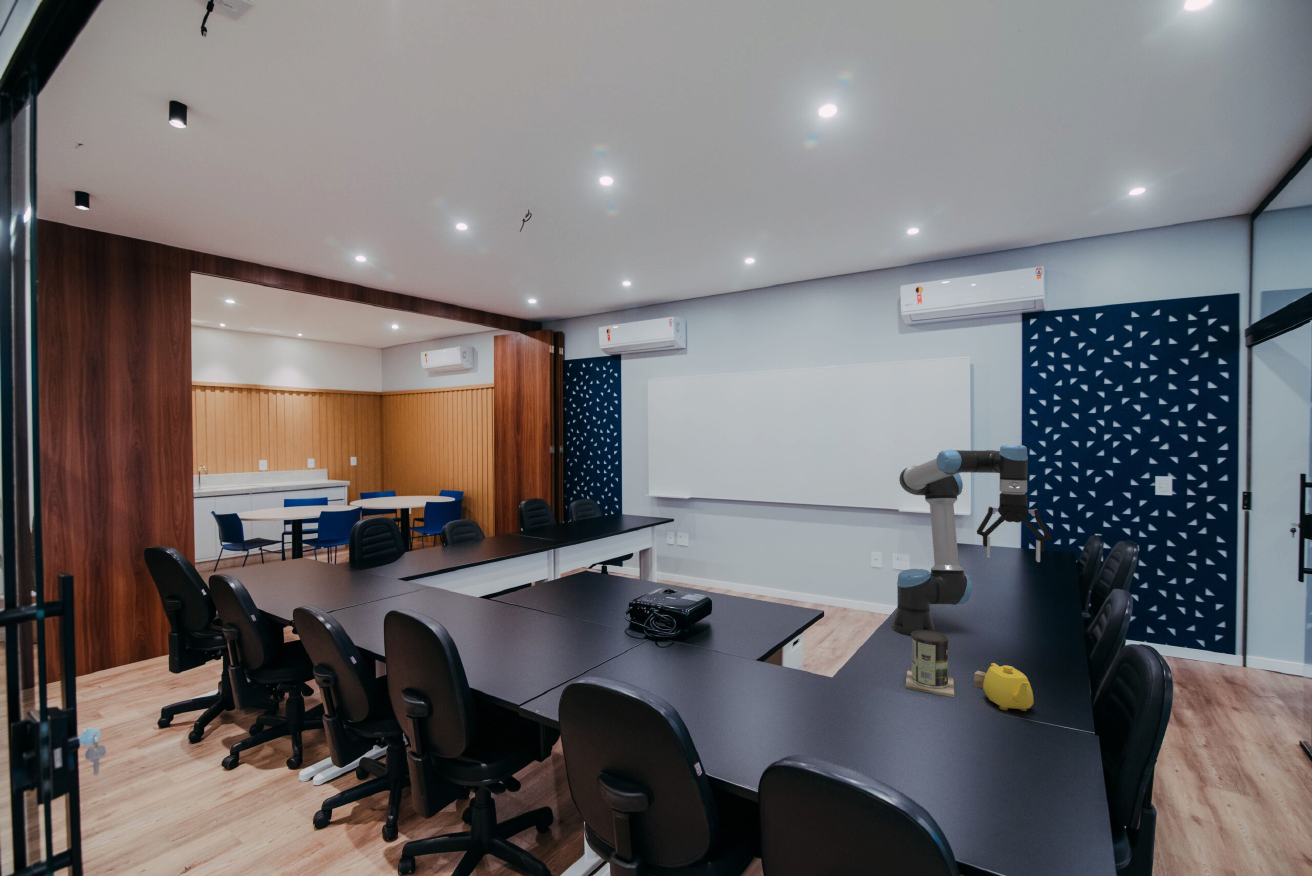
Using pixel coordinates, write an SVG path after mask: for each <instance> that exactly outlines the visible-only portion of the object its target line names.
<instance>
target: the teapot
mask: <svg viewBox="0 0 1312 876" xmlns="http://www.w3.org/2000/svg"><path fill="white" fill-rule="evenodd" d="M1002 666H1003V667H1002ZM1013 667H1014V666H1013ZM1013 667H1011V666H1010V665H1007V664H1006V665H1005V664H1004V665H1001V666H999V665H998V664H997V663H994V662H992V663H990V666H989V667H988V669H987V671H986V672H985V673H986V675H985V678H984V683H983V691H984V694H985V695H986V697H987V698H988V700H989V701H991V702H992V703H995V704H996V705H998V709H1000V711H1001V710H1002V711H1008V710H1009V709H1017V710H1019V711H1023V712H1027V711H1028V709H1030V708H1032V706H1033V705H1034V694H1033V693H1034V692H1033V689H1032V686H1031V683H1030V681H1029V678H1028V677H1027V676H1026V675H1025V674H1024V673H1023V672H1021V671H1020V670H1018V669H1016V668H1015V667H1014V668H1015V669H1014V668H1013Z"/></svg>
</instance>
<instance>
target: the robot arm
mask: <svg viewBox="0 0 1312 876" xmlns="http://www.w3.org/2000/svg"><path fill="white" fill-rule="evenodd" d="M1028 459H1029V457H1028V448H1027V446H1025V445H1023V444H1022V445H1021V444H1019V445H1015V444H1011V445H1009V444H1002V445H1001V446H1000V448H999V450H995V449H994V450H993V449H989V450H988V449H987V450H961V449H960V450H956V449H955V450H954V449H948V450H946V449H945V450H941V451H939V453H938V454H937V455H936V457H935V458H934V459H931V460H929V461H927V462H924V463H922V464H920V465H910V466H908V467H906V468H904V469H903V470H902V471H901V472H900V474H899V478H898V479H899V480H898V481H899V484H900V486H901V488H902V489H903V490H904V491H906V492H907V493H909V494H911V495H913V496H924V499H925V501H926V502H927V504H929V510H930V522H931V523H930V524H931V537H932V547H933V549H932V550H933V561H934V562H933V563H934V565H933V566H932V567H931V568H930V571H929V570H928V569H922V568H920V569H918V568H910V569H908V568H907V569H905V570H901V571H900V572H899V573H898V575H897V582H896V585H897V588H896V589H897V602H896V603H897V606H896V607H897V609H896V612H895V614H894V618H893V620H892V629H893V630H894V631H895V632H896V633H899V634H902V635H906V636H911V633H912V632H913V631H918V630H926V631H933V632H936V631H935V630H936V629H935V624H934V620H933V617H932V616H931V609H930V608H931V605H952V606H956V605H964V604H966V603H967V602H969V600H970V598H971V596H972V593H973V585H972V584H973V583H972V580H971V578H970V576H969V575H968V574H966V573H965V572H964V571H965V570H964V568H963V567H962V566H960V564H959V563H960V562H959V552H958V541H957V540H958V539H957V531H956V529H957V528H956V519H955V510H954V509H955V507H954V505H955V503H956V502H957V501H958V496H960V495H961V494H962V492H963V490H962V489H964V488H963V487H964V484H963V479H962V476H961V475H960V474H963V473H964V474H965V473H971V474H972V473H979V474H982V473H984V474H988V473H991V474H999V491H1000V492H1001V493H999V505H998V507H992V506H988V509H987V513H986V514H985V516H984V518H983V520H982V521H981V523H980V525H979V526H978V528H977V529H976V534H977V535H979V536H981V537H982V546H983V547H984V548H985V547H986V558H987V559H989V558H990V559H991V537H990V536H989V535H990V534H992V533H993V532H994V531H995V530H996V529H997V528H998V527H999V526H1000V525H1001V524H1002V523H1003V522H1004V521H1005V522H1008V523H1013V522H1014V523H1017V524H1019V523H1021V522H1022V523H1023V524H1024V525H1025V526H1026V527H1027V528H1028V529H1029V530H1030V531H1031V532H1032V533H1033V534H1034V536H1036V537H1037V538H1038V539H1035V561H1036V562H1037V563H1040V562H1041V552H1044V551H1045V543H1046V541H1050V540H1052V536H1051V533H1050V532H1049V531H1048V529H1047V527H1046V525H1045V523H1044V522H1043V520H1042V518H1041V517H1040V510H1039V509H1038V508H1034V509H1028V495H1027V494H1026V493H1028ZM996 513H998V514H999V517H998V518H997V520H996V521H994V522H993V523H992V524H991V525H990V526H989V527H988V528H987V529H986V530H985V528H986V526H987V524H988V523H989V521H990V520H991V518H992V516H993V515H994V514H996ZM1029 514H1030V515H1031V516H1032V517H1034V519H1035V521H1036V523H1037V524H1038V526H1039V528H1040V530H1041V531H1042V534H1044V535H1041V533H1040V532H1039V531H1038V530H1037V529H1036V528H1035V527H1034V526H1033V525H1032V524H1031V523H1030V521H1028V519H1026V518H1027V516H1028V515H1029ZM984 530H985V531H984ZM911 637H912V636H911Z"/></svg>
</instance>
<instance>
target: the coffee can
mask: <svg viewBox="0 0 1312 876" xmlns="http://www.w3.org/2000/svg"><path fill="white" fill-rule="evenodd" d="M911 667H912V669H911V671H912V677H911V679H912V681H913V682H915V683H916V684H918V685H921V686H924V687H928V688H934V689H941V688H946V687H947V686H948V677H949V637H948V636H947V635H945V634H944V633H940V632H937V631H935V632H933V631H926V630H918V631H913V632H912V633H911Z"/></svg>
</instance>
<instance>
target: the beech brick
mask: <svg viewBox="0 0 1312 876" xmlns="http://www.w3.org/2000/svg"><path fill="white" fill-rule="evenodd" d="M986 673H987V672H984V671H982V670H981V671H980V670H976V671H975V672H974V683H973V684H974V685H973V686H974V687H975V688H976V687H977V688H979V689H983V683H984V678H985V675H986ZM983 690H984V689H983Z"/></svg>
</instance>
